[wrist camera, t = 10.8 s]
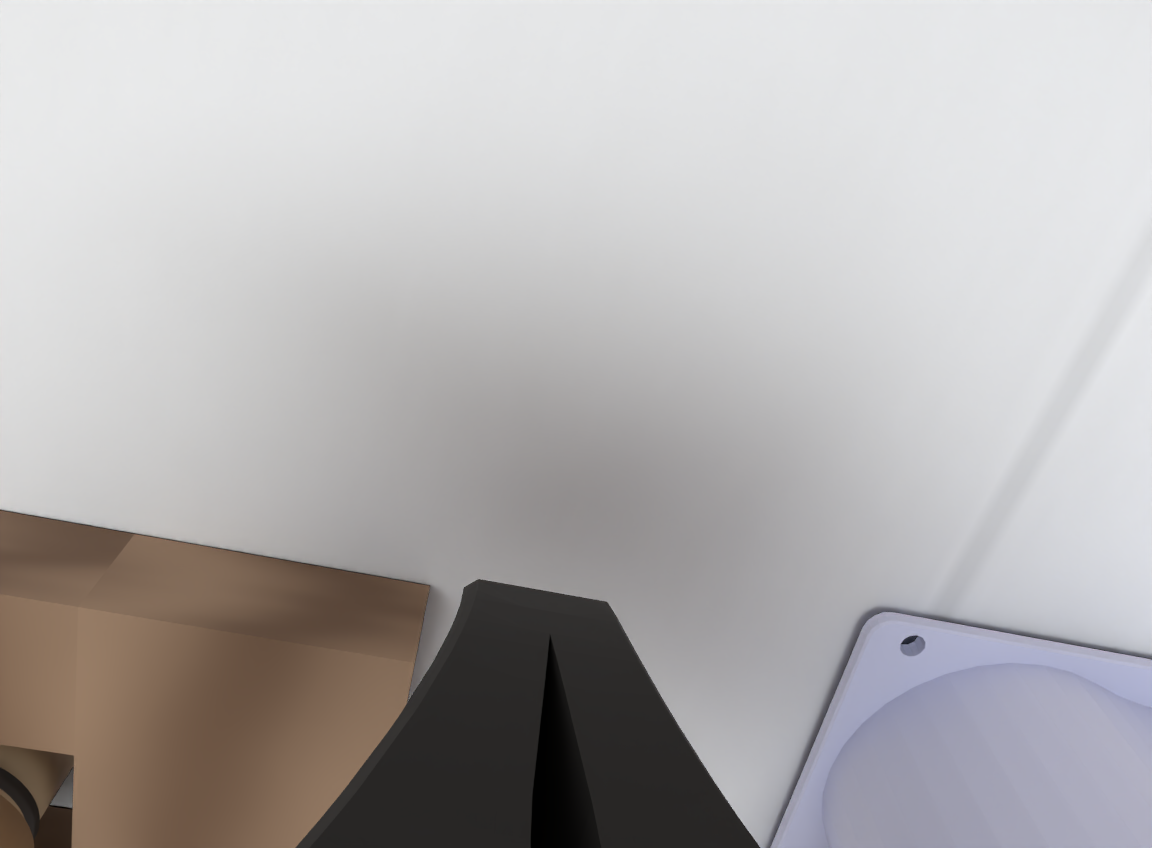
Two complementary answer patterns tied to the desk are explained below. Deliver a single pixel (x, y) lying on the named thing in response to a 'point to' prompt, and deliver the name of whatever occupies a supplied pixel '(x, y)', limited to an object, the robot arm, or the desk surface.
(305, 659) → the board
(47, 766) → the peg
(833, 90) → the desk surface
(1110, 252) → the desk surface
